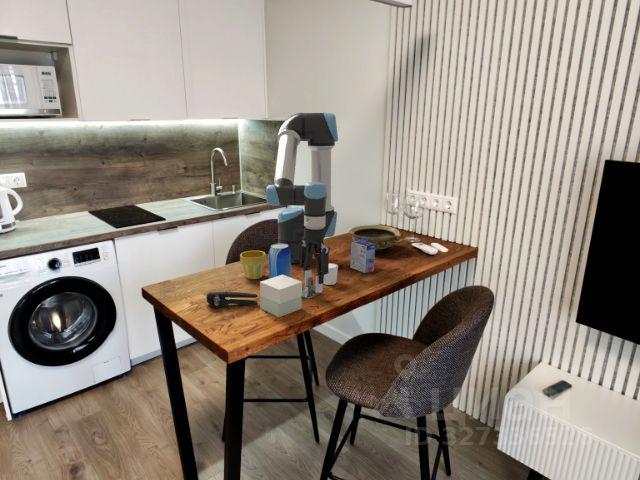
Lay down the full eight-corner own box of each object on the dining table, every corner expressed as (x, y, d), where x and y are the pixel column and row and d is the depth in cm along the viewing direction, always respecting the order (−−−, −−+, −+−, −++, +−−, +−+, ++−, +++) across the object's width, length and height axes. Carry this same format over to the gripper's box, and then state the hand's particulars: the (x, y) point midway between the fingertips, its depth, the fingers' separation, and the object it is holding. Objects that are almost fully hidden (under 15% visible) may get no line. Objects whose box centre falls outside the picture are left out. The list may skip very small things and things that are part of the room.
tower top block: (260, 295, 146) (259, 281, 144) (282, 287, 153) (282, 274, 151) (280, 304, 139) (279, 289, 138) (302, 295, 146) (302, 281, 145)
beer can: (282, 290, 162) (281, 250, 158) (265, 286, 167) (263, 246, 162) (295, 283, 169) (294, 244, 165) (278, 279, 173) (277, 241, 169)
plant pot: (239, 273, 180) (238, 251, 177) (263, 271, 183) (262, 249, 181) (243, 282, 171) (242, 258, 168) (269, 279, 174) (268, 256, 171)
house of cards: (307, 288, 167) (307, 269, 165) (324, 294, 161) (324, 275, 159) (290, 295, 160) (290, 275, 158) (308, 301, 155) (307, 281, 153)
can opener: (205, 310, 146) (204, 295, 144) (208, 302, 152) (206, 287, 151) (258, 308, 148) (257, 293, 146) (258, 300, 154) (257, 285, 153)
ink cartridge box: (375, 271, 183) (376, 238, 179) (365, 274, 180) (366, 240, 176) (359, 265, 191) (359, 233, 187) (349, 267, 188) (350, 235, 184)
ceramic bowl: (335, 250, 213) (335, 230, 210) (361, 240, 231) (362, 221, 229) (388, 262, 195) (389, 240, 192) (412, 250, 213) (413, 230, 211)
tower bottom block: (260, 308, 147) (259, 295, 146) (283, 300, 154) (282, 287, 153) (278, 318, 140) (278, 304, 139) (301, 309, 147) (301, 295, 146)
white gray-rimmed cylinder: (325, 286, 166) (325, 269, 164) (317, 280, 172) (317, 264, 170) (341, 283, 169) (341, 266, 168) (332, 278, 175) (332, 261, 173)
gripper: (289, 224, 155) (289, 285, 160) (325, 233, 142) (323, 299, 147) (305, 221, 160) (304, 280, 165) (340, 230, 147) (338, 294, 153)
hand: (313, 289), depth 156 cm, fingers open, 5 cm apart
